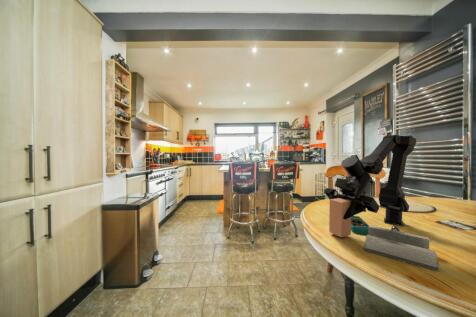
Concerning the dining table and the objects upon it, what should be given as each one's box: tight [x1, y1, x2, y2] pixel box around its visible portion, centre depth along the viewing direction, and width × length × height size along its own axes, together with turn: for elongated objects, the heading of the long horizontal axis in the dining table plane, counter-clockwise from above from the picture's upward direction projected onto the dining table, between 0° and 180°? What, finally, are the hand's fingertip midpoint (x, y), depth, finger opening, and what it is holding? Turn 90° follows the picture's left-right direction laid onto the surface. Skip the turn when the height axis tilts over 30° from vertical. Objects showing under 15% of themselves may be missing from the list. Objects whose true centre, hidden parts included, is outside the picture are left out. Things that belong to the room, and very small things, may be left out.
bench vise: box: [363, 224, 440, 272], centre depth 59 cm, size 20×16×4 cm
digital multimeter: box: [351, 215, 369, 235], centre depth 75 cm, size 7×15×3 cm, turn 165°
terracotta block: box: [328, 198, 352, 238], centre depth 67 cm, size 5×5×12 cm
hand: (337, 216), depth 66 cm, fingers closed on terracotta block, 5 cm apart
